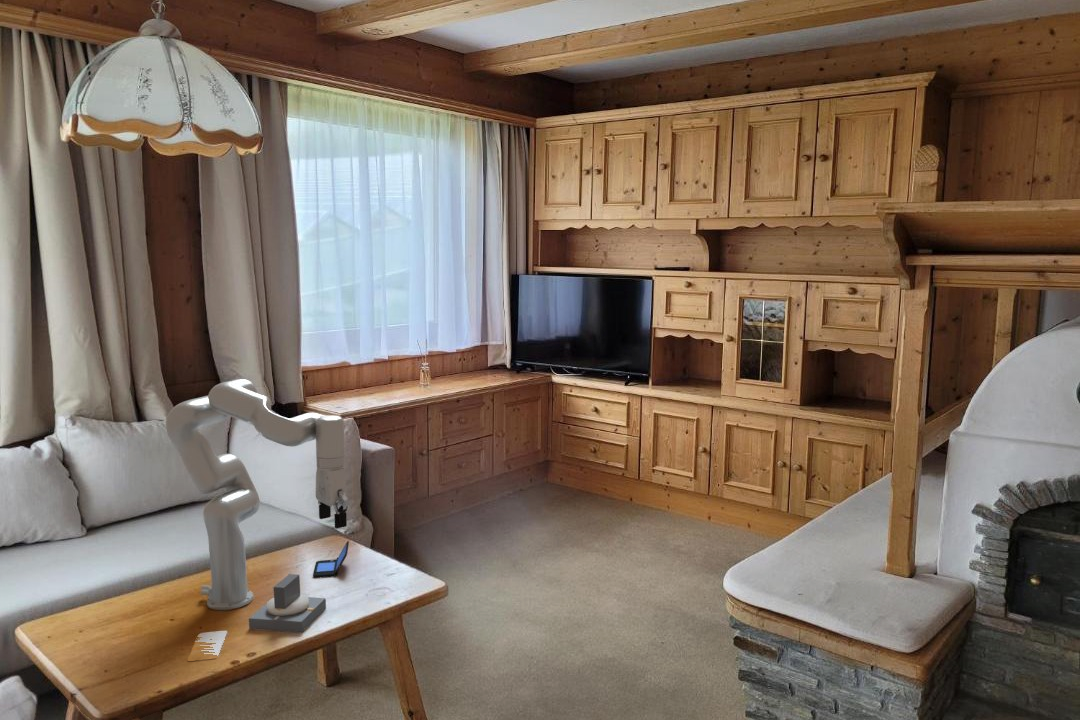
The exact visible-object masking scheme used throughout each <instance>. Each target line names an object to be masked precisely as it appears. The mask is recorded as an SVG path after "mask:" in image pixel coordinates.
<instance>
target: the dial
mask: <svg viewBox="0 0 1080 720" xmlns="http://www.w3.org/2000/svg"><path fill="white" fill-rule="evenodd" d="M300 581H301V578H300V574H295V573H294V574H293V573H289V574H288V575H286V576H285V577H284V578H283V579H281V580H280V581H279V582H278V583H277V584H275V585H274V586H273V597H274V598H273V597H271V598H270V600H268V601H267V602H266V603H267V612H268V613H270V614H272V615H277V616H286V615H293V614H296V613H299V612H302V611H304V610H305V609H306V608H307V607H308V606H309V598H308V597H309V596H308V595H306V594H302V593H301V582H300Z"/></svg>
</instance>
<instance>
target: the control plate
mask: <svg viewBox="0 0 1080 720" xmlns="http://www.w3.org/2000/svg"><path fill="white" fill-rule="evenodd" d="M307 597H308V598H309V606H308V607H307V608H306V609H305V610H304V611H302V612H299V613H296V614H293V615H286V616H277V615H272V614H270V613H268V612H267V602H266V603H265V604H264V605H262V606H261V607H260V608H259V609H258V610H257V611H255V612H254V613H253V614H252V615H251V616H249V617H248V628H249V630H257V631H259V630H260V631H275V632H287V633H289V632H290V633H303V632H304V631H305V630H307V628H308V627H309V626H310V625H311V624H312V623H313V622H314V621H316V619H317V618H318V617H319V616H320V615H321V614H322V613H323V612H324V611H326V609H327V604H326V603H327V602H326V599H327V598H325V597H315V596H312V597H311V596H307ZM272 598H274V596H273V597H272Z"/></svg>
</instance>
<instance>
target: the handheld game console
mask: <svg viewBox="0 0 1080 720" xmlns="http://www.w3.org/2000/svg"><path fill="white" fill-rule="evenodd" d="M349 543H350V541H349V540H347V542H346V543H345V545H344V547H343V548H342V550H341V551H340V553H339V556H337V557H336V558H334V559H325V560H322V559H321V560H317V561H316V562H315V564H314V569H313V572H312V577H313V578H314V579H319V578H320V577H322V578H331V576H334V577H338V574H339V573H338V572H339V570H340V568H341V566H342V565H343V563H344V561H345V559H346V557H348V556H347V555H348V552H349V551H348V550H349V545H350V544H349Z"/></svg>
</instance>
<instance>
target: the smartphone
mask: <svg viewBox="0 0 1080 720" xmlns="http://www.w3.org/2000/svg"><path fill="white" fill-rule="evenodd" d="M226 635H227V636H228V631H227V630H217V631H208V632H200V633H199V634H198V635H197V637H202V638H200V640H198V641H196V640H195V641H194V643H195V642H206V643H216V644H212V645H200V646H210V647H213V648H204V649H214V650H201V651H209V652H215V653H204V654H213V655H217V656H218V655H219V656H220V654H221V651H222V649H223V646H224V644H223V643H225V641H226V639H225V637H226V638H227V636H226ZM210 639H212V640H210ZM224 640H225V641H224ZM222 645H223V646H222ZM221 648H222V649H221ZM220 650H221V651H220ZM219 653H220V654H219ZM219 656H218V657H219Z"/></svg>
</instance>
